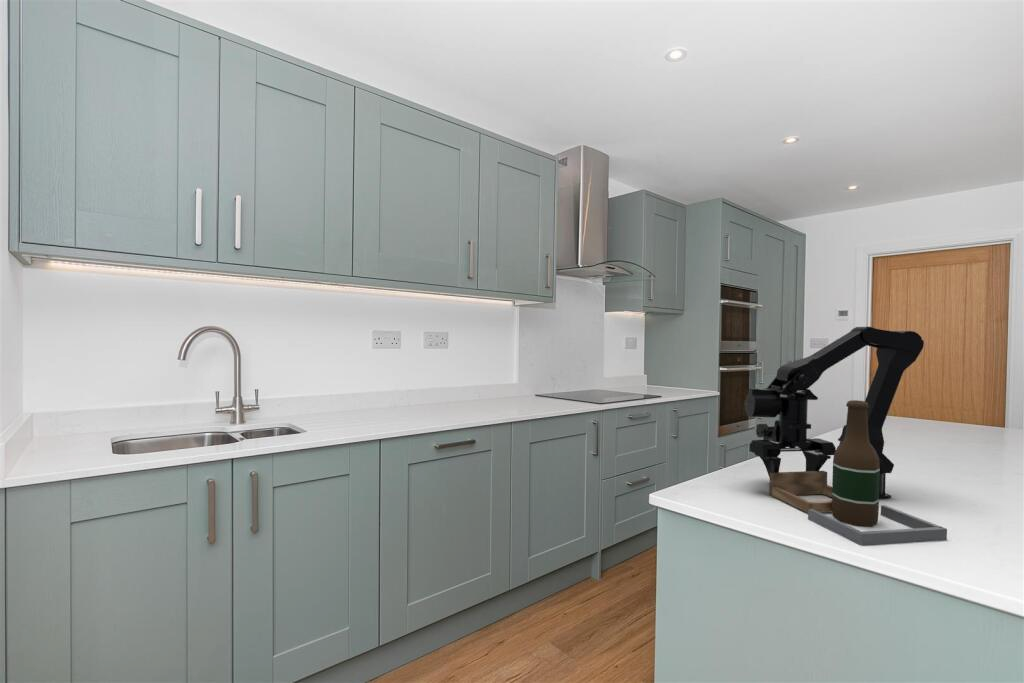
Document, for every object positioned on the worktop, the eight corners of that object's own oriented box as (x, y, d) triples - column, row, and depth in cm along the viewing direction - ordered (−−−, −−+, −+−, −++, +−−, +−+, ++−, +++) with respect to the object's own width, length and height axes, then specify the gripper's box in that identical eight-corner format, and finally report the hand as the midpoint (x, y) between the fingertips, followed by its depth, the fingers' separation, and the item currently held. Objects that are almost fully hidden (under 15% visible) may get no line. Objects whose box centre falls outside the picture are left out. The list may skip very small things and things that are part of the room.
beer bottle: (881, 530, 94) (884, 405, 94) (832, 522, 98) (836, 401, 98) (875, 517, 101) (878, 400, 101) (830, 510, 105) (833, 397, 105)
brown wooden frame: (822, 491, 116) (823, 470, 116) (867, 509, 105) (867, 486, 105) (769, 494, 114) (769, 472, 114) (808, 513, 102) (809, 489, 102)
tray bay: (884, 514, 103) (885, 505, 103) (946, 539, 90) (947, 528, 90) (807, 518, 100) (808, 509, 100) (861, 545, 88) (861, 534, 87)
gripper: (803, 411, 126) (801, 472, 126) (736, 412, 123) (734, 474, 124) (838, 419, 115) (836, 486, 115) (766, 421, 112) (764, 489, 113)
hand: (791, 483), depth 117 cm, fingers open, 9 cm apart
